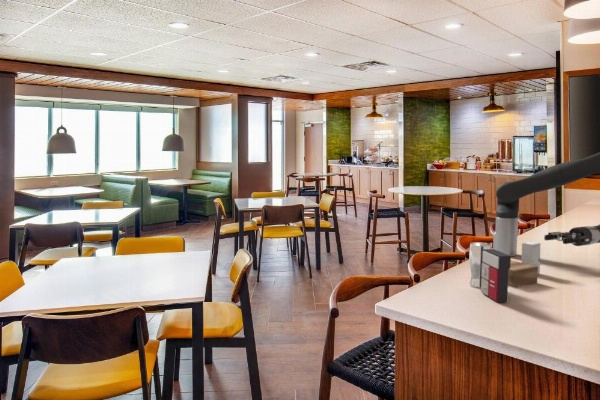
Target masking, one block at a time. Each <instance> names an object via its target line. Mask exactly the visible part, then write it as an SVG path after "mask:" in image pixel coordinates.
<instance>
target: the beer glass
mask: <svg viewBox="0 0 600 400" xmlns="http://www.w3.org/2000/svg"><path fill="white" fill-rule="evenodd" d="M484 249H491V244H490V243H488V242H482V241H481V242H480V241H479V242H477V241H476V242H470V244H469V257H468V258H469V268H470V276H471V277H470V280H469V286H470V285H471V286H470V287H472V286H473V287H472V288H475V287H478V288H477V289H481V279H482V263H483V250H484Z"/></svg>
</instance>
